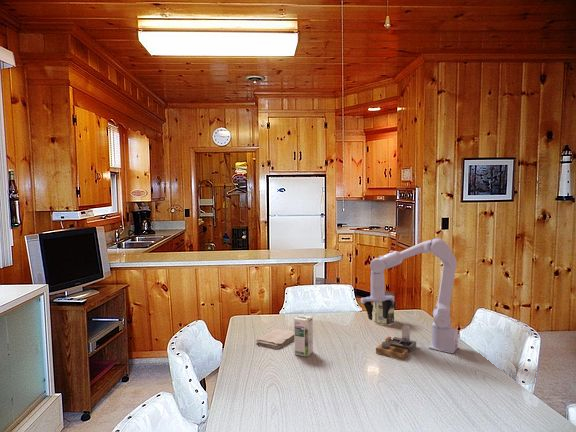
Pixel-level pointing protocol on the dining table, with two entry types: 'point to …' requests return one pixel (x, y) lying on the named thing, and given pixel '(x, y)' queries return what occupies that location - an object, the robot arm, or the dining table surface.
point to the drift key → (390, 340)
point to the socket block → (400, 345)
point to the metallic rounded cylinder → (406, 335)
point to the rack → (391, 351)
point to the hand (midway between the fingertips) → (377, 318)
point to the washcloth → (276, 338)
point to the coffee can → (378, 313)
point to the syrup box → (303, 335)
